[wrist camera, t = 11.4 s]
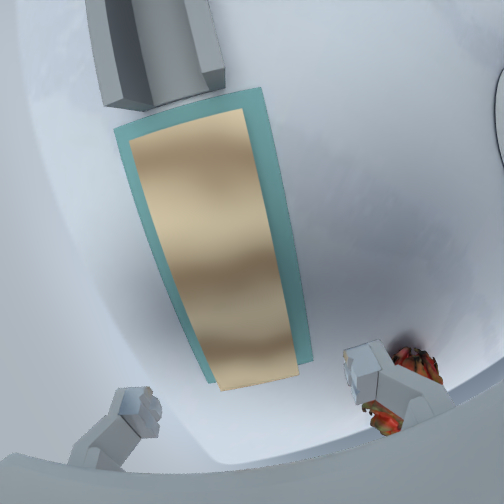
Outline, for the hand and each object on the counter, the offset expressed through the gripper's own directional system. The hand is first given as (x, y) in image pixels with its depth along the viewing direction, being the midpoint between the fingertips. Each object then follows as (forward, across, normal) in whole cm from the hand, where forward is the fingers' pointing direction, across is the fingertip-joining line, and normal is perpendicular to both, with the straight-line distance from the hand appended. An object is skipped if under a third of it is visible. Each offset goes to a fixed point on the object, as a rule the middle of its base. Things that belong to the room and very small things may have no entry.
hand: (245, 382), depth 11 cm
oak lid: (+12, +1, 0) cm, 12 cm away
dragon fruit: (+12, -13, +18) cm, 25 cm away
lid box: (+12, +1, -20) cm, 23 cm away
